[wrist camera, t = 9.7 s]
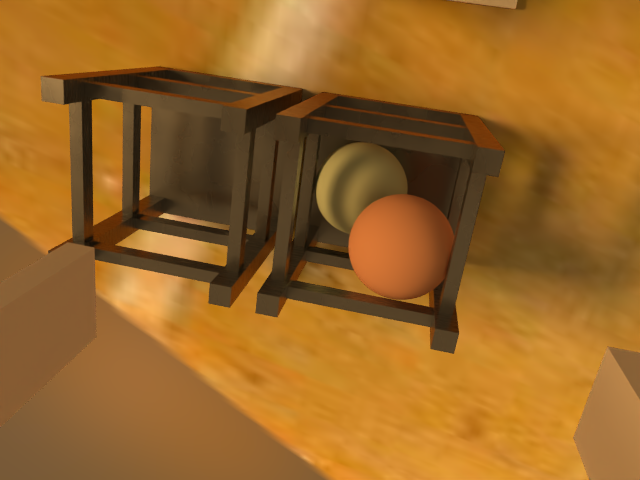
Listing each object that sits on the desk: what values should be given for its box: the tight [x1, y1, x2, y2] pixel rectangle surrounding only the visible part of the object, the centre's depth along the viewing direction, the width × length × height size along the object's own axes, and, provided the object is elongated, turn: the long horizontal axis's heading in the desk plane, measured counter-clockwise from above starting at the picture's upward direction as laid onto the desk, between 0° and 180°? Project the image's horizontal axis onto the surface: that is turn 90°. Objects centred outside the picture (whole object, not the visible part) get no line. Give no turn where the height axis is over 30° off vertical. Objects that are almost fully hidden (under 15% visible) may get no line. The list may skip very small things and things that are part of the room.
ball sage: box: [315, 142, 408, 234], centre depth 30 cm, size 5×5×5 cm
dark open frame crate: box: [256, 92, 505, 354], centre depth 28 cm, size 9×9×11 cm
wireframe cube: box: [41, 67, 303, 308], centre depth 29 cm, size 9×9×11 cm
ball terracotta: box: [348, 194, 454, 300], centre depth 26 cm, size 5×5×5 cm
